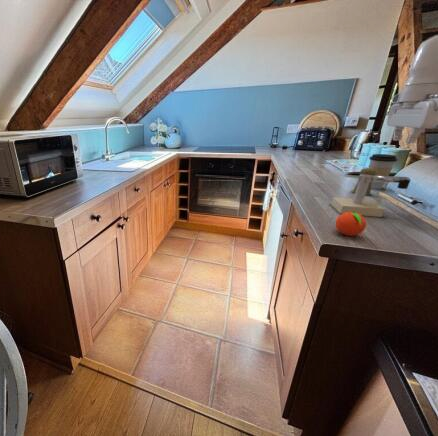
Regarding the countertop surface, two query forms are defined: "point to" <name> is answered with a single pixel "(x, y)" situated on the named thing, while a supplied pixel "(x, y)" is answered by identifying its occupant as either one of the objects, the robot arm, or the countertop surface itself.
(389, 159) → the coffee cup
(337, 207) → the base
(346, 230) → the clementine
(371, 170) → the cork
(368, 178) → the spout
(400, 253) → the countertop surface
